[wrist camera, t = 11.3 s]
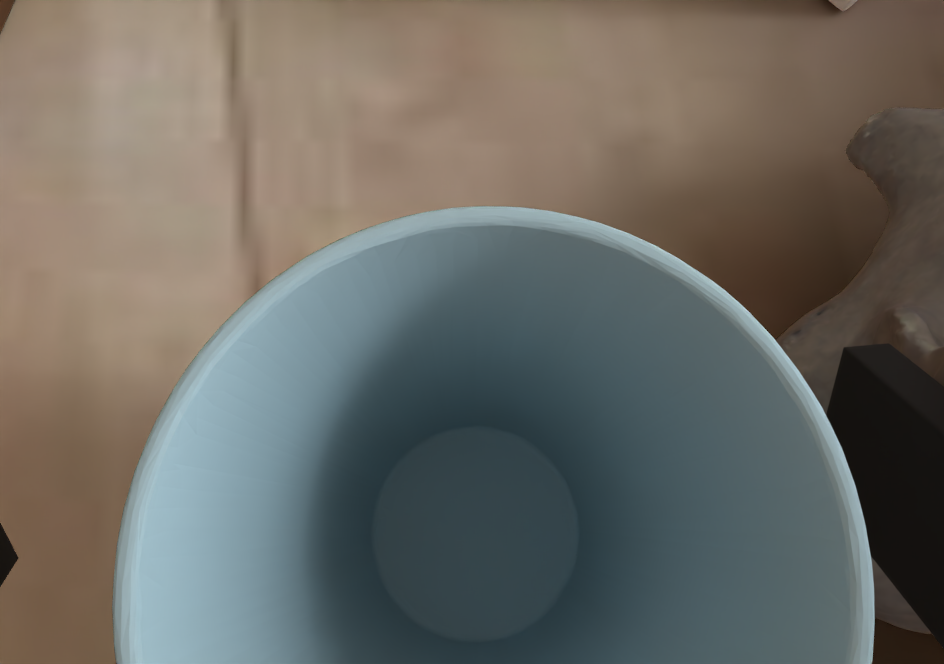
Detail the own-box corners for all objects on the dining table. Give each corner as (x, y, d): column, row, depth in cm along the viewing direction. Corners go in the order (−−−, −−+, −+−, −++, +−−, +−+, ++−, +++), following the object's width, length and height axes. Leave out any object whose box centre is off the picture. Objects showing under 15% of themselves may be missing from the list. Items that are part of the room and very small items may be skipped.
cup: (392, 765, 16) (272, 1223, 5) (272, 456, 17) (13, 370, 7) (681, 611, 16) (1032, 761, 6) (539, 334, 18) (641, 110, 8)
